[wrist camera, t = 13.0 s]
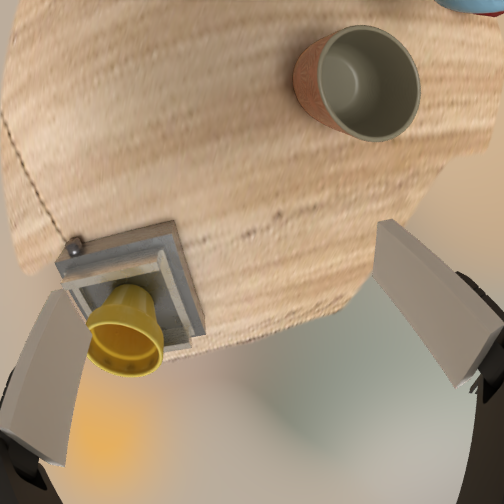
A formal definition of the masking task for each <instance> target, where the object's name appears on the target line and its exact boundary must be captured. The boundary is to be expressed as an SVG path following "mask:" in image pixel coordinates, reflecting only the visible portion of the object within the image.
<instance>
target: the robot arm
mask: <svg viewBox="0 0 504 504" xmlns="http://www.w3.org/2000/svg"><path fill="white" fill-rule="evenodd" d="M434 1H435V2H437V3H438V4H439V5H441V6H443V7H445V8H448V9H451V10H453V11H457V12H464V13H493V12H500V11H504V0H434ZM372 277H373V278H374V279H375V280H376V281H377V283H378V284H379V285H380V286H381V288H382V289H383V290H384V291H385V293H386V294H387V295H388V296H389V298H390V299H391V300H392V301H393V303H394V304H395V305H396V307H397V308H398V309H399V310H400V312H401V313H402V314H403V315H404V317H405V318H406V320H407V321H408V322H409V323H410V325H411V326H412V327H413V329H414V330H415V331H416V333H417V334H418V336H419V337H420V338H421V340H422V341H423V343H424V344H425V345H426V347H427V348H428V349H429V351H430V352H431V354H432V355H433V357H434V358H435V359H436V361H437V362H438V364H439V365H440V366H441V368H442V370H443V371H444V373H445V374H446V376H447V377H448V378H449V380H450V382H451V383H452V384H453V386H454V388H455V389H456V388H458V387H459V386H461V385H462V384H464V383H465V382H467V381H468V380H470V378H471V377H472V376H473V375H474V373H475V372H476V370H477V369H478V370H479V371H480V373H481V374H480V376H479V377H478V378H477V380H476V381H475V383H474V384H473V385H472V386H471V388H470V392H469V393H472V392H473V391H474V390H475V388H476V387H477V386H478V389H477V391H476V392H475V394H477V404H476V414H475V422H474V429H473V436H472V442H471V448H470V453H469V458H468V462H467V467H466V471H465V475H464V479H463V483H462V487H461V490H460V493H459V497H458V500H457V503H456V504H504V312H503V311H502V310H501V309H500V307H499V306H498V305H497V304H496V303H495V302H494V301H493V300H492V299H491V298H490V297H489V296H488V295H486V294H485V292H484V291H483V290H482V289H481V288H479V287H478V285H477V284H476V283H475V282H474V281H472V279H470V278H469V277H468V276H466V275H464V274H462V273H460V272H458V271H457V272H454V271H453V270H452V269H451V268H450V267H449V266H448V265H446V264H445V263H444V262H443V261H442V260H441V259H440V258H439V257H437V256H436V255H435V254H434V253H433V252H432V251H431V250H430V249H428V248H427V247H426V246H425V245H424V244H423V243H421V242H420V241H419V240H418V239H417V238H415V237H414V236H413V235H411V233H409V232H408V231H407V230H406V229H404V228H403V227H402V226H401V225H399V224H398V223H397V222H396V221H394V220H393V219H389V220H384V221H380V222H378V223H377V235H376V246H375V256H374V265H373V273H372ZM91 338H92V333H91V332H90V330H89V329H88V327H87V326H86V324H85V322H84V321H83V319H82V318H81V316H80V315H79V313H78V311H77V310H76V308H75V306H74V305H73V303H72V301H71V299H70V298H69V296H68V294H67V292H66V291H65V289H60V290H55V291H51V293H50V295H49V297H48V299H47V300H46V302H45V304H44V306H43V308H42V310H41V312H40V314H39V316H38V318H37V320H36V322H35V324H34V326H33V328H32V330H31V332H30V334H29V336H28V339H27V341H26V343H25V346H24V348H23V350H22V352H21V355H20V357H19V360H18V362H17V365H16V366H15V368H14V369H13V370H12V372H11V373H10V376H9V378H8V381H7V383H6V387H5V389H4V392H3V396H2V398H1V401H0V504H63V503H62V501H61V499H60V498H59V496H58V494H57V492H56V490H55V489H54V487H53V485H52V483H51V481H50V479H49V477H48V475H47V473H46V471H45V469H44V467H43V466H42V465H41V464H40V463H38V461H39V458H41V459H42V460H44V461H46V462H47V463H49V464H52V465H57V466H62V467H65V462H66V454H67V446H68V440H69V433H70V427H71V422H72V416H73V410H74V406H75V401H76V396H77V392H78V388H79V383H80V379H81V375H82V371H83V367H84V363H85V360H86V356H87V352H88V349H89V345H90V342H91Z"/></svg>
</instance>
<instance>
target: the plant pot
mask: <svg viewBox="0 0 504 504" xmlns="http://www.w3.org/2000/svg"><path fill="white" fill-rule="evenodd" d="M86 326H87V327H88V329H89V330H90V332H91V333H92V338H91V342H90V345H89V349H88V352H87V358H88V359H89V360H90V361H91V362H92V363H93V364H95V365H96V366H97V367H99V368H101V369H102V370H104V371H106V372H108V373H111V374H114V375H117V376H122V377H141V376H145V375H148V374H150V373H152V372H154V371H155V370H156V369H157V368H158V367H159V366H160V365H161V363H162V360H163V351H164V337H163V333H162V330H161V328H160V326H159V325H158V323H157V319H156V314H155V308H154V302H153V299H152V297H151V295H150V294H149V293H148V292H147V291H146V290H145V289H143V288H141V287H140V286H137V285H133V284H124V285H120V286H118V287H116V288H115V289H114V290H113V291H112V292H111V294H110V295H109V296H108V298H107V299H106V300H105V302H104V303H103V304H102V305H101V307H99V308H97V309H95V310H94V311H93V312H92V313H91V314H90V315H89V317H88V319H87V322H86Z"/></svg>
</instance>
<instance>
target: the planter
mask: <svg viewBox="0 0 504 504" xmlns="http://www.w3.org/2000/svg"><path fill="white" fill-rule="evenodd" d="M293 86H294V91H295V94H296V96H297V99H298V101H299V102H300V104H301V105H302V107H303V108H304V109H305V111H306V112H307V113H308V114H309V115H311V116H312V117H313V118H315V119H316V120H317V121H319V122H321V123H323V124H324V125H326V126H329V127H331V128H333V129H335V130H338V131H340V132H343V133H345V134H348V135H350V136H353V137H355V138H358V139H360V140H364V141H368V142H383V141H387V140H390V139H393V138H395V137H397V136H398V135H400V134H401V133H402V132H404V131H405V130H406V129H407V128H408V127H409V125H410V124H411V123H412V121H413V119H414V118H415V116H416V113H417V111H418V108H419V104H420V96H421V86H420V78H419V74H418V71H417V68H416V65H415V63H414V61H413V59H412V57H411V55H410V54H409V52H408V51H407V50H406V48H405V47H404V46H403V45H402V44H401V43H400V42H399V41H398V40H397V39H396V38H395V37H393V36H392V35H390V34H389V33H387V32H385V31H383V30H381V29H379V28H376V27H372V26H366V25H355V26H350V27H347V28H344V29H342V30H339V31H337V32H335V33H333V34H331V35H328V36H326V37H324V38H322V39H320V40H318V41H317V42H315V43H314V44H312V45H311V46H309V47H308V48H307V49H306V50H305V51H304V52H303V53H302V54H301V56H300V57H299V59H298V60H297V62H296V65H295V68H294V72H293Z"/></svg>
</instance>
